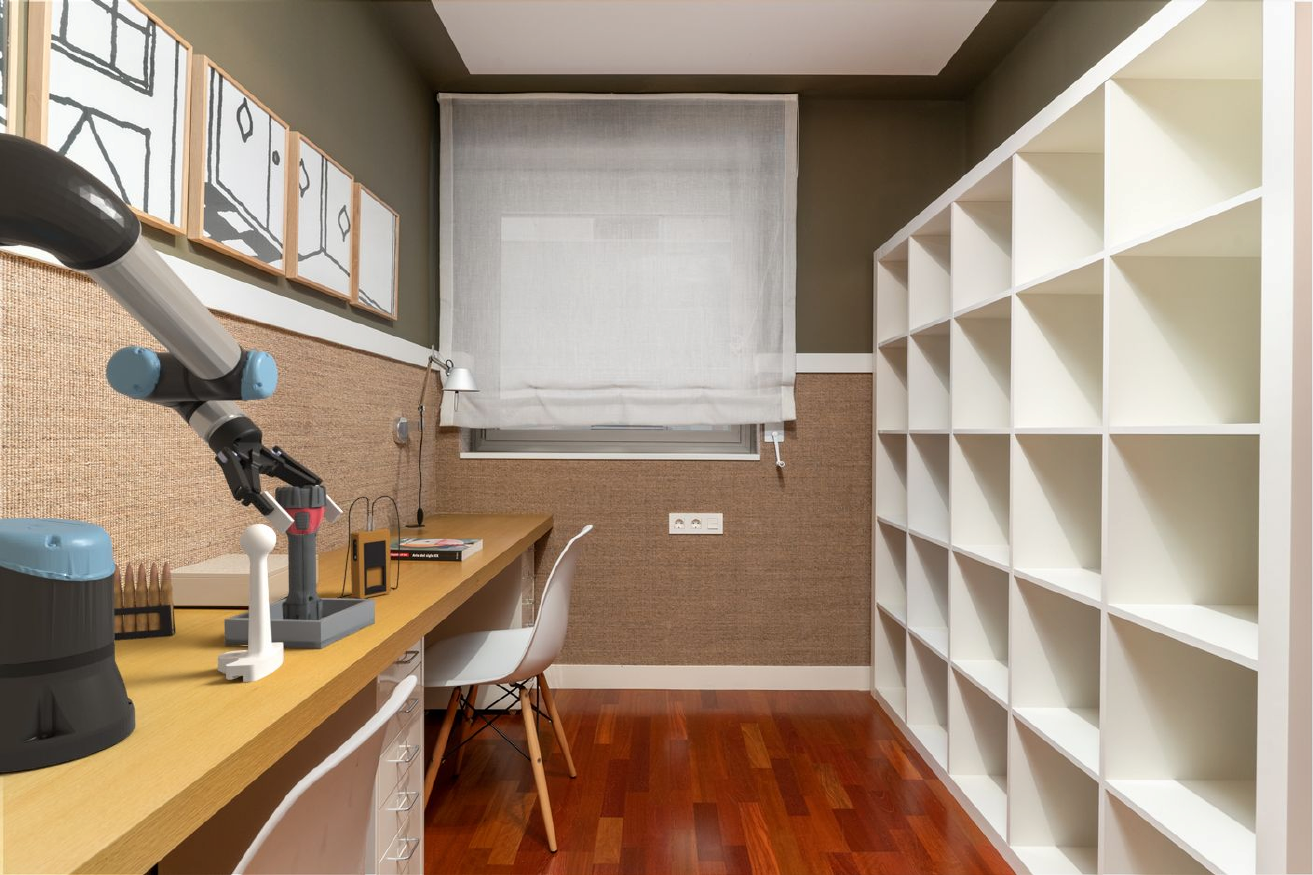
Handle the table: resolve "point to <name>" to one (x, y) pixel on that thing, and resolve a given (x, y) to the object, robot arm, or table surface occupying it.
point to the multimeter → (370, 559)
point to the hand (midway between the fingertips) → (313, 522)
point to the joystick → (255, 614)
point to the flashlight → (302, 549)
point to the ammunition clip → (143, 604)
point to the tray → (308, 624)
